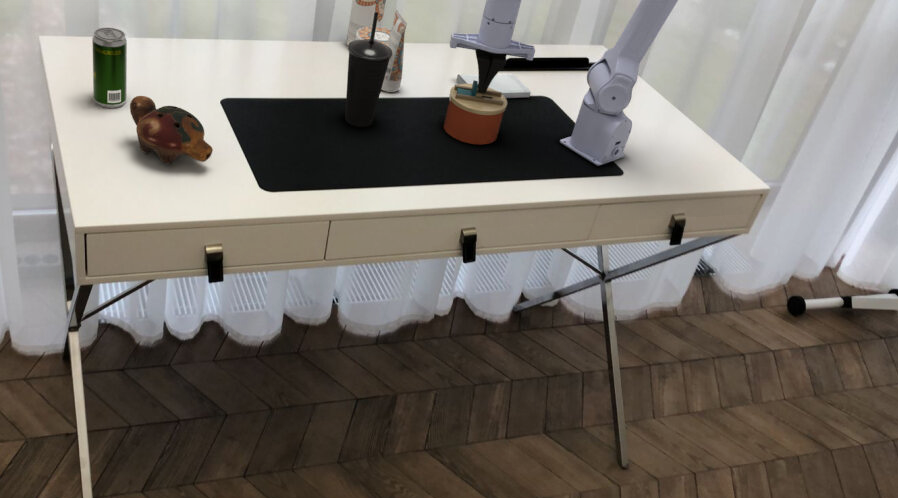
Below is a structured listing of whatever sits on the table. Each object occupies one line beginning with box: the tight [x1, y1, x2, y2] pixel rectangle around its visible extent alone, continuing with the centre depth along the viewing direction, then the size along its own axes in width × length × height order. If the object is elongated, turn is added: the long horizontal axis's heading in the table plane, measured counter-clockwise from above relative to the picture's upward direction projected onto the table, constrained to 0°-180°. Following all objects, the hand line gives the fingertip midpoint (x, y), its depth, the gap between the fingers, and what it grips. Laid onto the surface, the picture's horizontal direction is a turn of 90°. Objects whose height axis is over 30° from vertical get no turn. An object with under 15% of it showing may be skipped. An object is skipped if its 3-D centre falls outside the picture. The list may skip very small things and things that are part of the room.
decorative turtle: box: [129, 95, 214, 165], centre depth 152 cm, size 10×15×8 cm, turn 68°
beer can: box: [91, 27, 128, 109], centre depth 161 cm, size 5×5×12 cm
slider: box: [457, 81, 478, 96], centre depth 172 cm, size 3×2×2 cm
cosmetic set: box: [346, 0, 408, 93], centre depth 187 cm, size 25×9×19 cm, turn 18°
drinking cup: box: [344, 12, 393, 128], centre depth 167 cm, size 8×8×20 cm
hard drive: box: [456, 73, 532, 99], centre depth 192 cm, size 2×8×12 cm
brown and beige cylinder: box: [443, 83, 508, 146], centre depth 175 cm, size 10×10×8 cm
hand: (481, 90), depth 173 cm, fingers closed
